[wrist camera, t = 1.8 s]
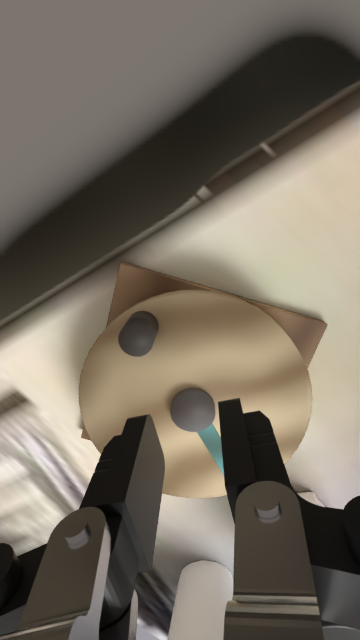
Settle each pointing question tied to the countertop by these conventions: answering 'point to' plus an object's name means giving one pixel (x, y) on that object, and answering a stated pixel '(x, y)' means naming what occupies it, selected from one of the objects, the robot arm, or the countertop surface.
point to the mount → (147, 283)
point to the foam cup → (201, 602)
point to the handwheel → (194, 381)
